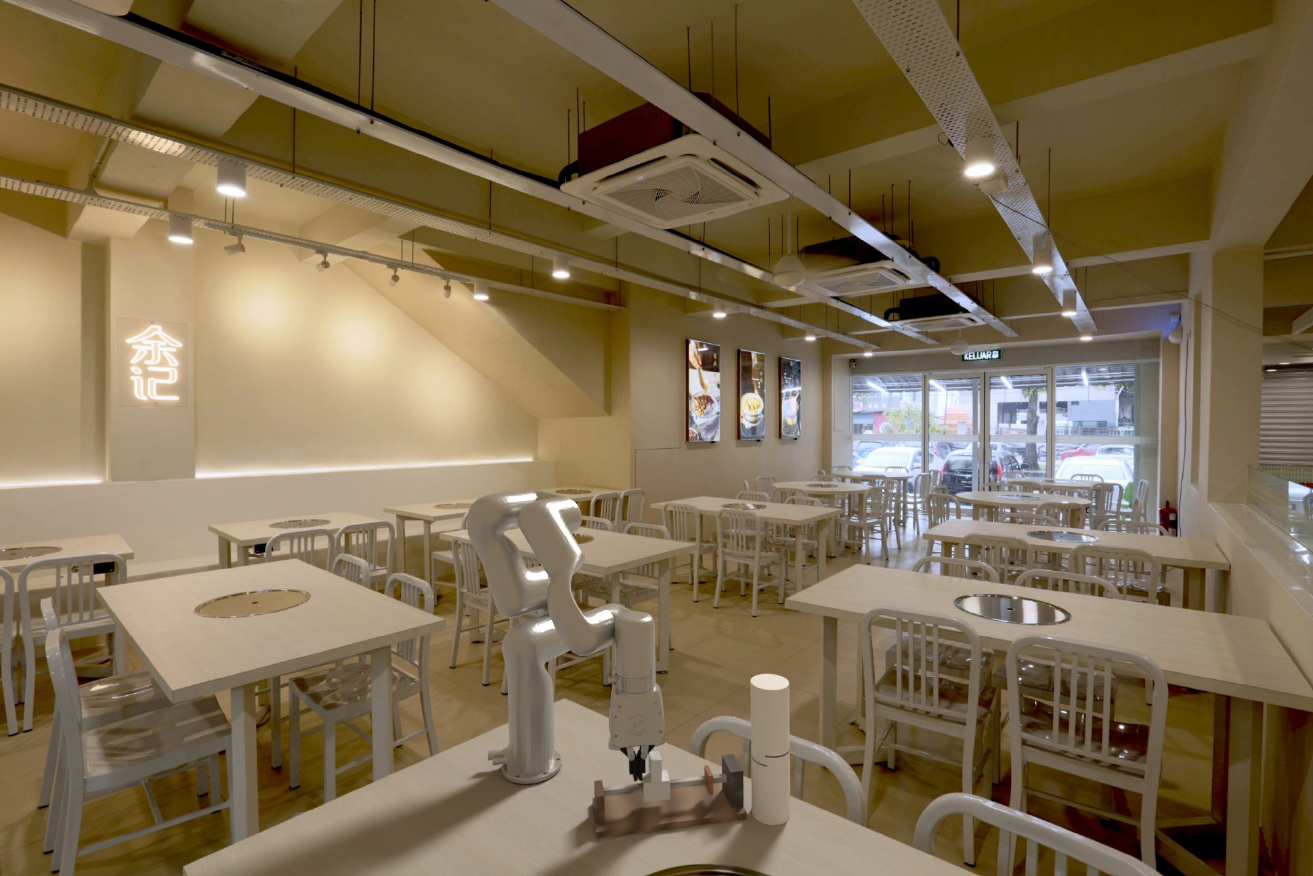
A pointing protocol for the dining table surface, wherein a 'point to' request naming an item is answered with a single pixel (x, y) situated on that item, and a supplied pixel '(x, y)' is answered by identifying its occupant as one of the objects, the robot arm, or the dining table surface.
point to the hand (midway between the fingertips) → (637, 776)
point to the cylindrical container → (770, 749)
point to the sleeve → (655, 780)
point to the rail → (672, 803)
